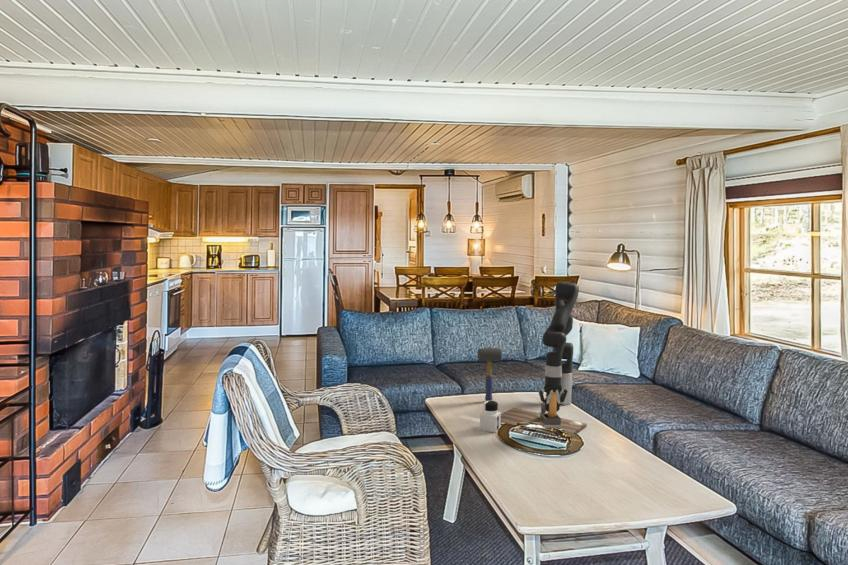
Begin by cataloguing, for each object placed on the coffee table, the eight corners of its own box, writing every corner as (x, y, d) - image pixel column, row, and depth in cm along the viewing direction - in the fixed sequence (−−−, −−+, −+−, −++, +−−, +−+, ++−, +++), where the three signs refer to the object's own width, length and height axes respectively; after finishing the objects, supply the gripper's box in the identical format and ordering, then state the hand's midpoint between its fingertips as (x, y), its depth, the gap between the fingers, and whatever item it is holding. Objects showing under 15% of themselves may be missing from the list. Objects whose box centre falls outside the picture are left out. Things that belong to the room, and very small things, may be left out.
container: (500, 427, 252) (501, 400, 251) (495, 432, 245) (496, 405, 244) (484, 425, 255) (485, 398, 254) (479, 430, 248) (480, 402, 247)
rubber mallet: (497, 399, 298) (499, 346, 296) (501, 403, 290) (502, 348, 288) (476, 400, 296) (476, 346, 294) (479, 404, 289) (480, 349, 287)
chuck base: (513, 410, 278) (513, 407, 278) (586, 426, 255) (586, 423, 254) (489, 422, 259) (489, 418, 259) (566, 441, 236) (566, 437, 236)
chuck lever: (534, 416, 263) (534, 402, 263) (549, 416, 264) (549, 402, 263) (544, 429, 245) (544, 414, 244) (560, 429, 245) (561, 414, 244)
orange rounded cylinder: (550, 416, 251) (550, 389, 250) (557, 418, 249) (558, 391, 248) (545, 418, 248) (546, 391, 247) (553, 420, 246) (554, 393, 245)
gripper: (541, 377, 242) (540, 414, 244) (571, 376, 244) (569, 413, 245) (535, 372, 250) (534, 408, 251) (564, 372, 252) (563, 408, 253)
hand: (552, 410), depth 248 cm, fingers closed on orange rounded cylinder, 4 cm apart
